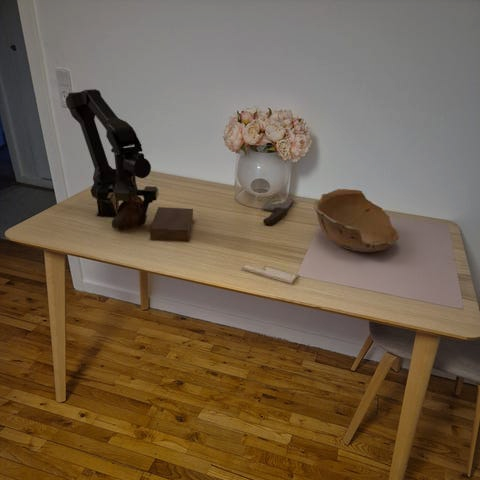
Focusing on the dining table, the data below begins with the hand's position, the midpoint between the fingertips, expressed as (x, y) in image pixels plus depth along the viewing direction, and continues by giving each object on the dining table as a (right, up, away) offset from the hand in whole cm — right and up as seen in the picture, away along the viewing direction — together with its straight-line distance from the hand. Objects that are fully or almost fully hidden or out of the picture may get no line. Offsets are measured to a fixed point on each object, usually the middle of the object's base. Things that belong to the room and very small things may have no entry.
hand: (130, 217), depth 143 cm
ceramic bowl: (+73, -7, +3) cm, 74 cm away
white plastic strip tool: (+45, -20, -18) cm, 52 cm away
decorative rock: (0, -3, +2) cm, 4 cm away
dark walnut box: (+14, -3, +3) cm, 14 cm away
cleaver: (+49, +7, +21) cm, 54 cm away
